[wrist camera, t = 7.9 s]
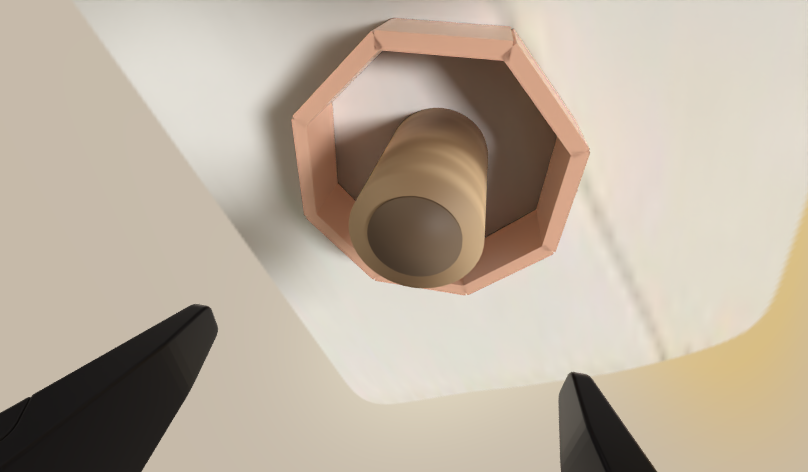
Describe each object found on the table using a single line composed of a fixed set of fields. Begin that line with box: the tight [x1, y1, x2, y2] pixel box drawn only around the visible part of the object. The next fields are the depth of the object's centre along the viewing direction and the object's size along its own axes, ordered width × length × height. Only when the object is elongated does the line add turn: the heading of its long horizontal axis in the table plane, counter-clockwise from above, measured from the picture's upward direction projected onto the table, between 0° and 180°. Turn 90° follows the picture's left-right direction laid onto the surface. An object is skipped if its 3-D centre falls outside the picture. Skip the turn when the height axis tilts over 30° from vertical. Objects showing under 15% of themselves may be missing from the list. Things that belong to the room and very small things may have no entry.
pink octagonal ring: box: [291, 18, 590, 295], centre depth 17 cm, size 11×11×3 cm
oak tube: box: [349, 108, 488, 288], centre depth 16 cm, size 5×5×7 cm
